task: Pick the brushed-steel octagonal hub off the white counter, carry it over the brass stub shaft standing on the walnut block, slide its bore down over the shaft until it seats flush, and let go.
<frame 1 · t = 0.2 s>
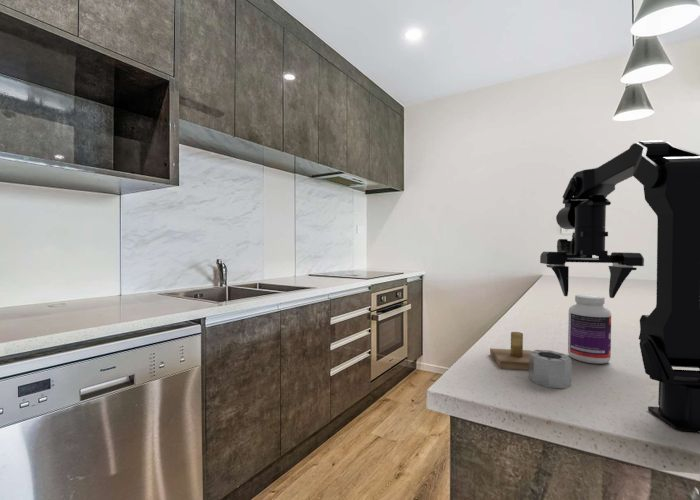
hand: (588, 296, 79), 14 cm above the worktop, fingers open, 9 cm apart
hub: (549, 381, 67), on the worktop
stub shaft: (516, 362, 78), on the worktop
pill bottle: (588, 360, 80), on the worktop
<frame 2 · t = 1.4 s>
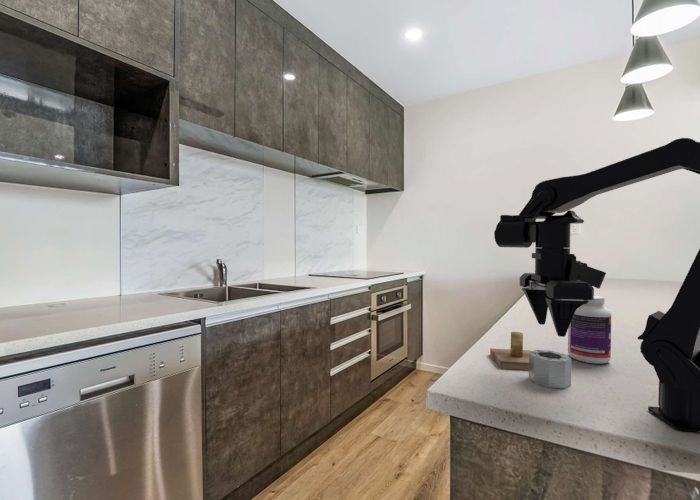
hand: (550, 329, 67), 10 cm above the worktop, fingers open, 9 cm apart
nothing on the worktop moved.
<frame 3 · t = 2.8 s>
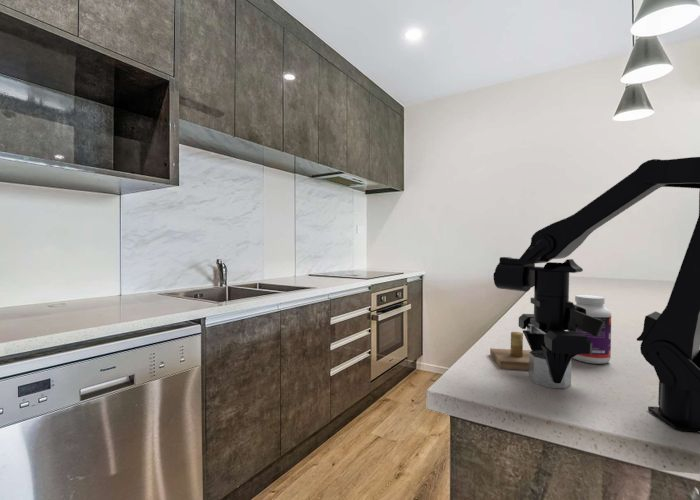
hand: (549, 375, 67), 1 cm above the worktop, fingers closed on hub, 6 cm apart
hub: (549, 381, 67), on the worktop, touching gripper
everything else where it was.
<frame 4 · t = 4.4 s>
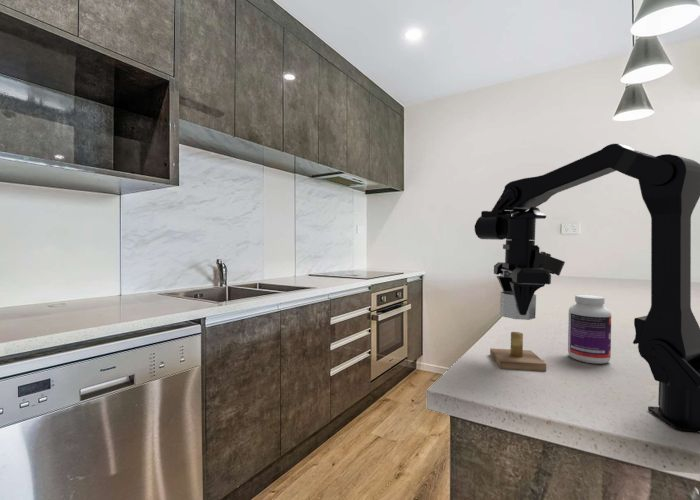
hand: (517, 311, 77), 11 cm above the worktop, fingers closed on hub, 6 cm apart
hub: (517, 316, 77), point 10 cm above the worktop, touching gripper
everything else where it was.
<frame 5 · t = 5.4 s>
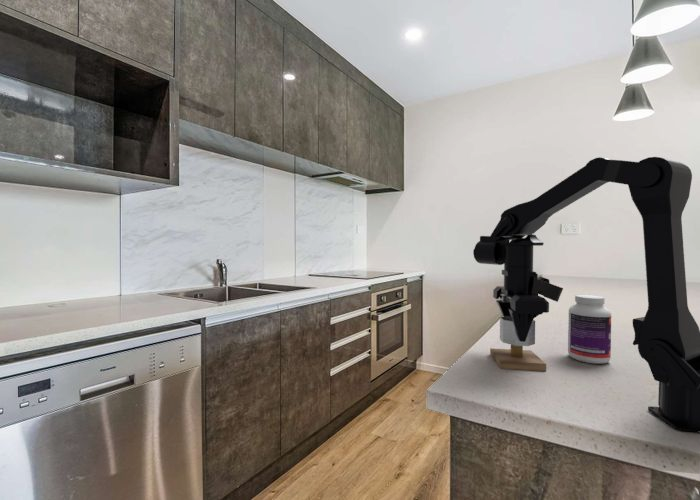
hand: (517, 337, 77), 6 cm above the worktop, fingers closed on hub, 6 cm apart
hub: (516, 341, 77), point 5 cm above the worktop, touching gripper
everything else where it was.
when the fingers open (3 cm above the worktop, at t = 6.3 s): hub stays where it is, resting on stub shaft.
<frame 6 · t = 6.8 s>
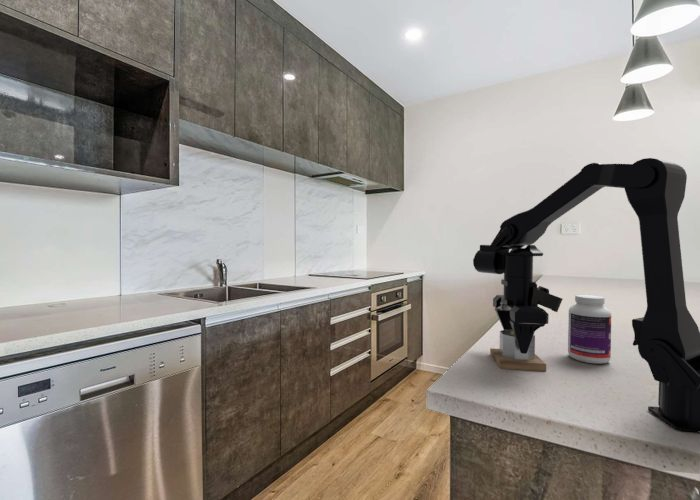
hand: (516, 346, 78), 3 cm above the worktop, fingers open, 9 cm apart
hub: (516, 355, 78), point 1 cm above the worktop, touching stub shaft
everything else where it was.
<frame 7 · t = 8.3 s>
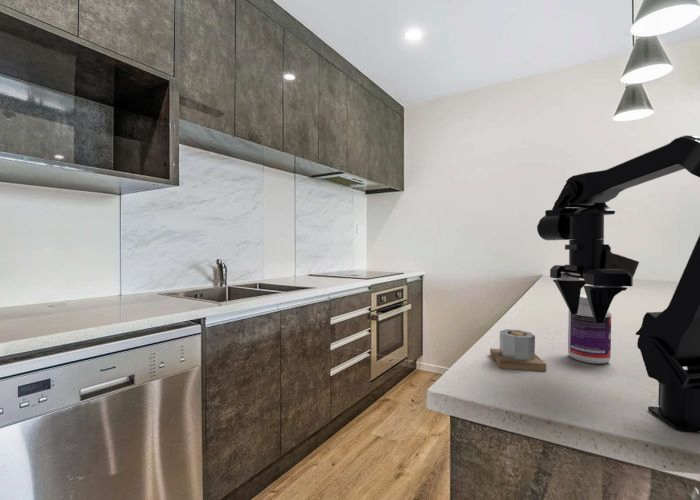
hand: (585, 318, 70), 12 cm above the worktop, fingers open, 9 cm apart
nothing on the worktop moved.
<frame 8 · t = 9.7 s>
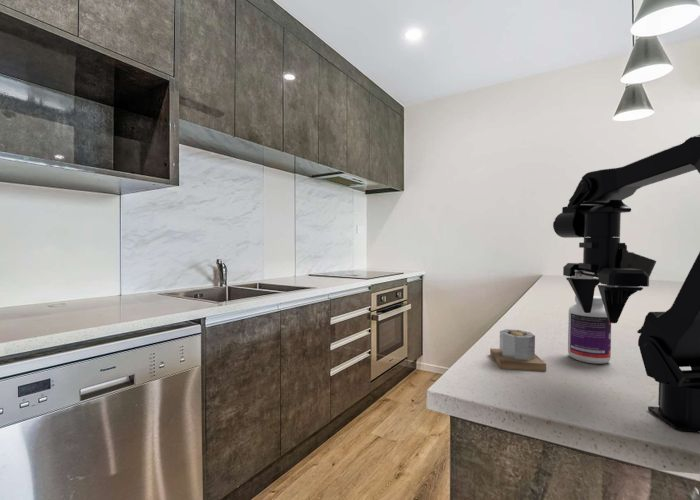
hand: (599, 317, 68), 12 cm above the worktop, fingers open, 9 cm apart
nothing on the worktop moved.
at the end: hub 0.1 cm off-centre on the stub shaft, point 1.5 cm above the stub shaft's base; the gripper is holding nothing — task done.
